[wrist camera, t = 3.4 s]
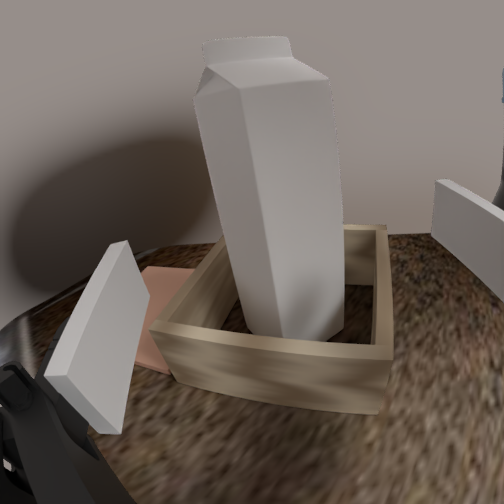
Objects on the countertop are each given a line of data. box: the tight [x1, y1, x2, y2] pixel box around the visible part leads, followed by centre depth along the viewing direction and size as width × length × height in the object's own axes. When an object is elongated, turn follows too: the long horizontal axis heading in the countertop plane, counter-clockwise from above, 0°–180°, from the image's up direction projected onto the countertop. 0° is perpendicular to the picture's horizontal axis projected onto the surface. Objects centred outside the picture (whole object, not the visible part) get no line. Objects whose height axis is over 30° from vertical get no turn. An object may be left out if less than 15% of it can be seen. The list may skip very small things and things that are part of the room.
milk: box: [193, 36, 344, 342], centre depth 20 cm, size 6×6×22 cm
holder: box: [148, 224, 393, 415], centre depth 24 cm, size 15×15×6 cm
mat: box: [134, 266, 195, 375], centre depth 30 cm, size 12×14×1 cm
